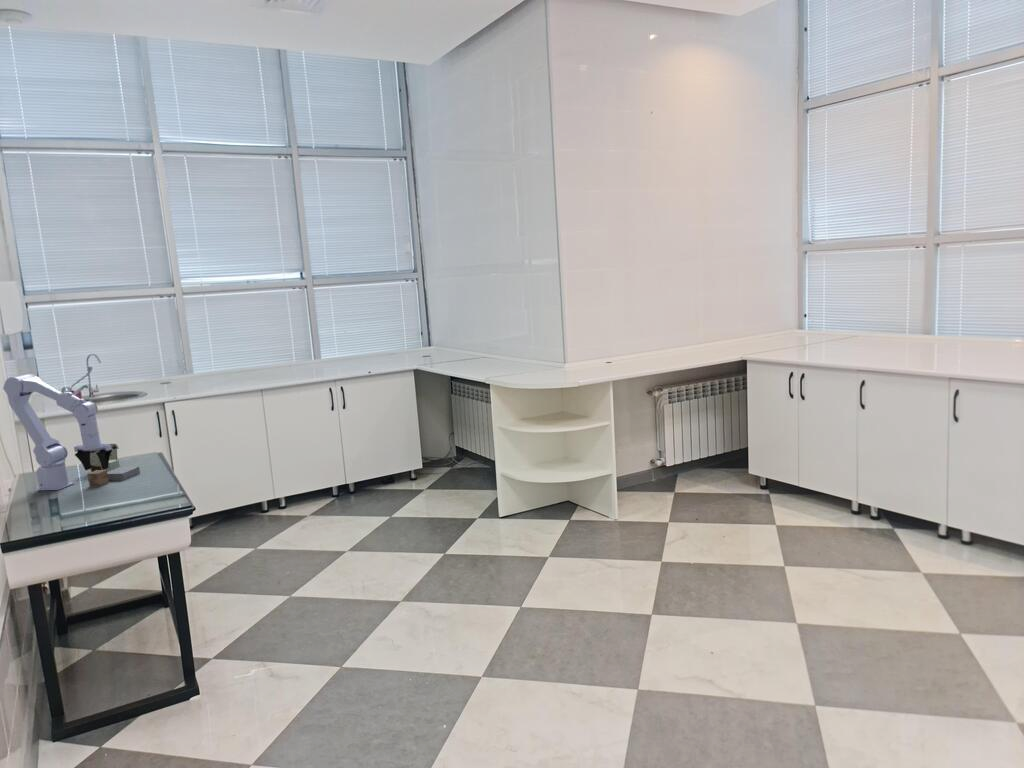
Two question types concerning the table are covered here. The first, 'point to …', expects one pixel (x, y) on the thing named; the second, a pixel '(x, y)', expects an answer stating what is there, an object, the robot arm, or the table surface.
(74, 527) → the table surface
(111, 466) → the sage block
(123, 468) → the base block
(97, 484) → the walnut block
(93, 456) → the food container
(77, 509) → the table surface
